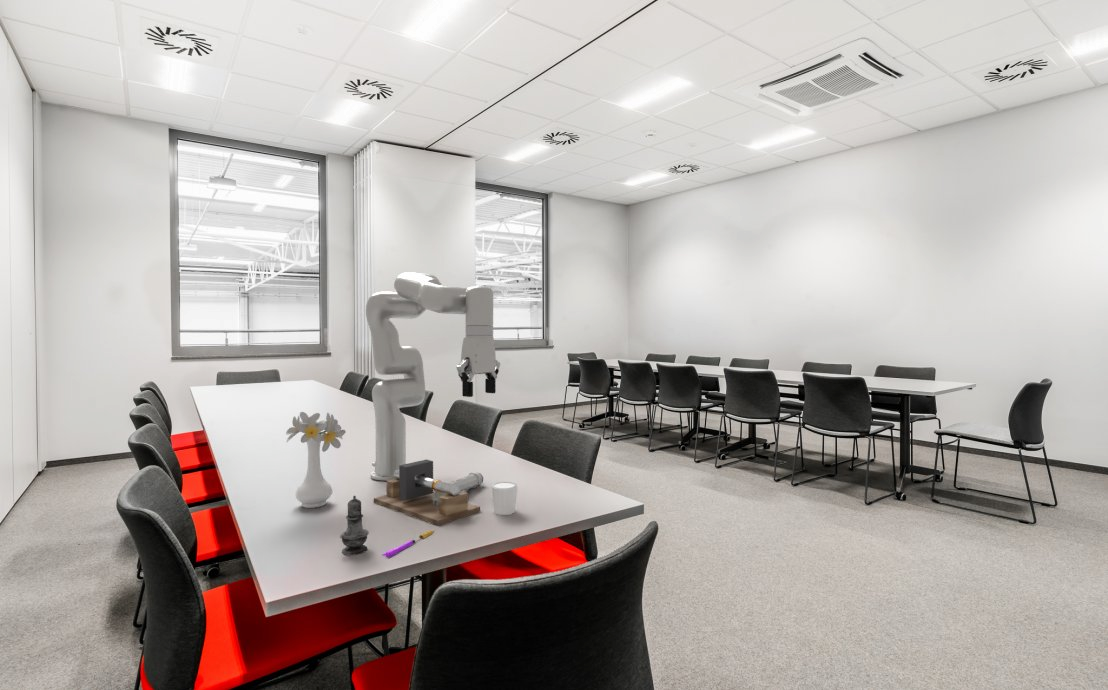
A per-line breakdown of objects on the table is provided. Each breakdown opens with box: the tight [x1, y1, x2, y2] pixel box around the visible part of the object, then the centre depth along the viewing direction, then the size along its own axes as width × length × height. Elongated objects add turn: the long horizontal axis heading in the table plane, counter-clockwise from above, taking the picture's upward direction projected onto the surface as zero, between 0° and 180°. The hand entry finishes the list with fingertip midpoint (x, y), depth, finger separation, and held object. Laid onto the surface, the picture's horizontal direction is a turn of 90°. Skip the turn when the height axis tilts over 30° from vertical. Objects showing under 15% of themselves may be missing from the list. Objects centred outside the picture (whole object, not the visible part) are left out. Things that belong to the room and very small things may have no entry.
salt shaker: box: [339, 495, 370, 556], centre depth 118 cm, size 6×6×12 cm
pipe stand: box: [373, 478, 481, 526], centre depth 147 cm, size 28×14×5 cm, turn 51°
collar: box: [399, 459, 434, 501], centre depth 150 cm, size 3×9×9 cm, turn 141°
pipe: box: [394, 470, 461, 496], centre depth 147 cm, size 26×3×3 cm, turn 51°
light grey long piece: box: [432, 472, 484, 505], centre depth 157 cm, size 5×7×25 cm
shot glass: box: [490, 481, 518, 516], centre depth 144 cm, size 7×7×7 cm
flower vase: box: [285, 411, 346, 509], centre depth 148 cm, size 13×18×25 cm
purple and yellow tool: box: [381, 530, 435, 558], centre depth 122 cm, size 3×1×16 cm
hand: (479, 394), depth 149 cm, fingers open, 9 cm apart
